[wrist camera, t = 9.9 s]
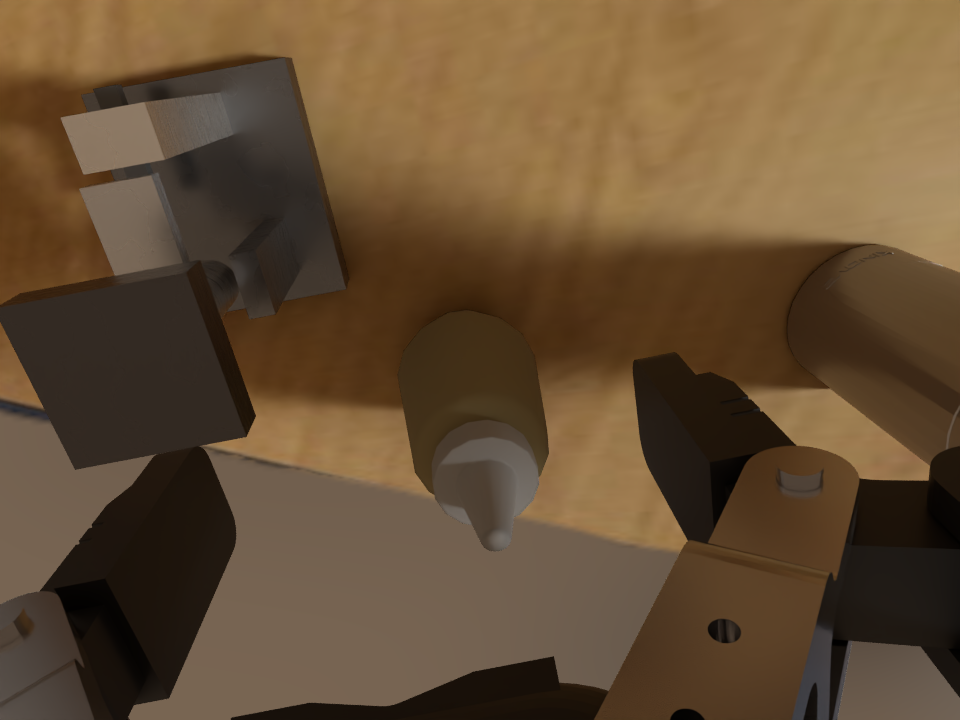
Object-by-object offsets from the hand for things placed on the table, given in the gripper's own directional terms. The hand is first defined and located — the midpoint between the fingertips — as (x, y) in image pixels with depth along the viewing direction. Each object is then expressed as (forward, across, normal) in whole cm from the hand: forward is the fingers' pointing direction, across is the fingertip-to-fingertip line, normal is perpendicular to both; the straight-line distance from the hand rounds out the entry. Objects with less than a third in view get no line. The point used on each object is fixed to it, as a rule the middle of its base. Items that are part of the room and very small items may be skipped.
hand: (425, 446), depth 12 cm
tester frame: (+27, +11, -3) cm, 29 cm away
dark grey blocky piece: (+20, +11, -1) cm, 22 cm away
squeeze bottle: (+28, 0, +10) cm, 30 cm away
